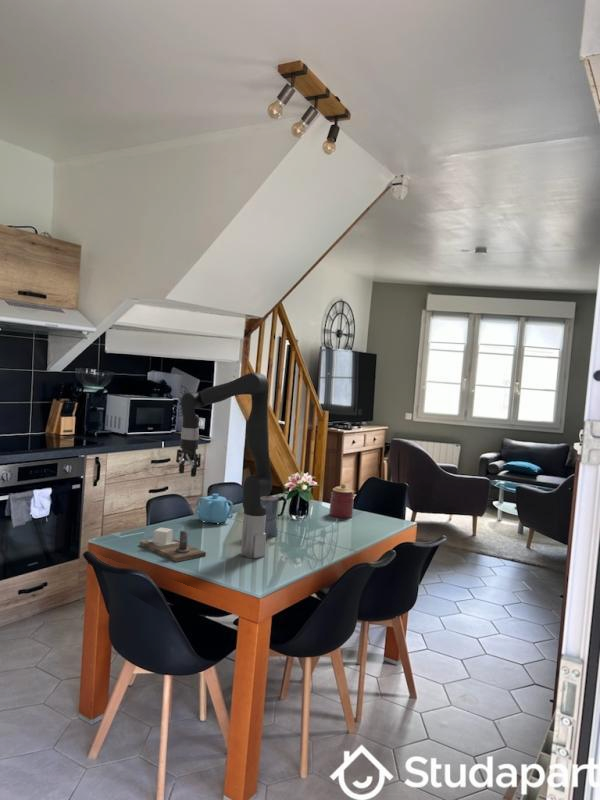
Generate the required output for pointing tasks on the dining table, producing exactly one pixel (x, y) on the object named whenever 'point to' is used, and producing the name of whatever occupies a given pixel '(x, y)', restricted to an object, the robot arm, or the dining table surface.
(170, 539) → the white cube
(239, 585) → the dining table surface
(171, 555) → the post board
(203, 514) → the decorative pot
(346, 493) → the canister
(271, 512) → the moka pot
